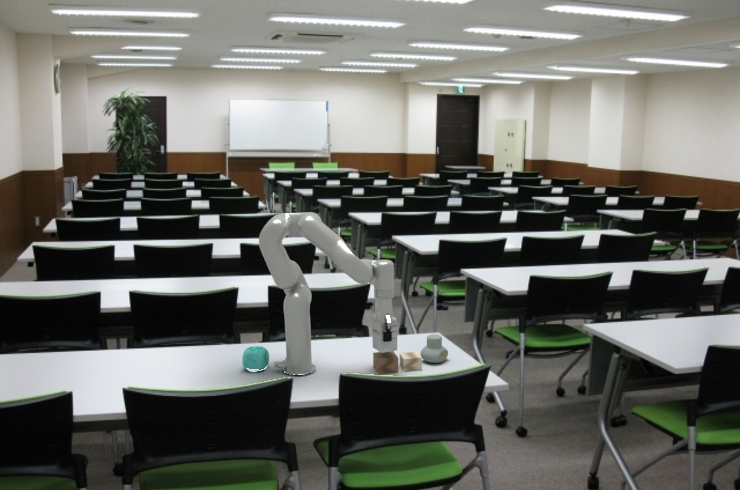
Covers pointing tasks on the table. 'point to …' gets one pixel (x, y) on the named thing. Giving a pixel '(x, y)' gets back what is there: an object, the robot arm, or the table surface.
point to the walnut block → (385, 362)
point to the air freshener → (434, 350)
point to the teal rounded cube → (255, 357)
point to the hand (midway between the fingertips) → (384, 337)
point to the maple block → (410, 361)
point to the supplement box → (378, 336)
